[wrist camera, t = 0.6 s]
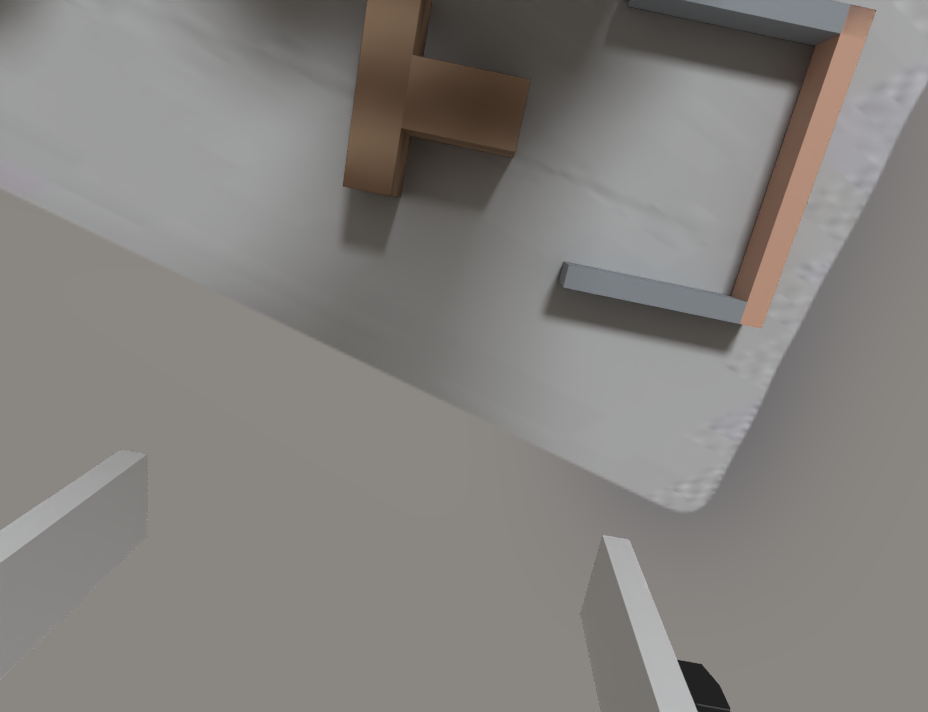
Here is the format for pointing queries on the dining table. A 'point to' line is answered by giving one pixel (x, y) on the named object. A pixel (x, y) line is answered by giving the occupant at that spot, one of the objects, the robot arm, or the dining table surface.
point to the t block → (421, 100)
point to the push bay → (815, 114)
